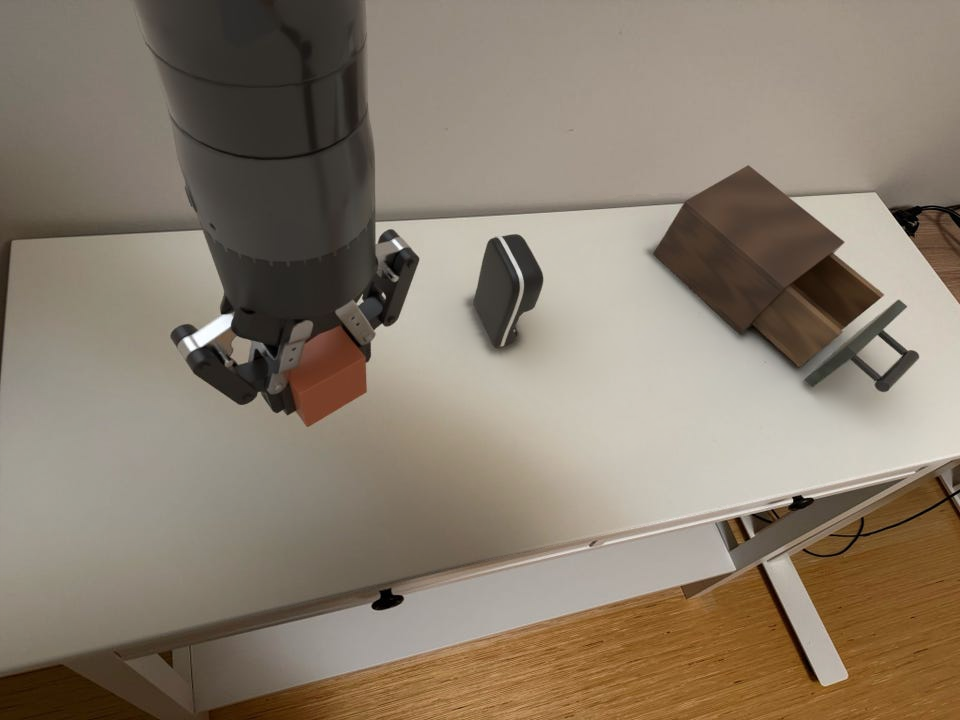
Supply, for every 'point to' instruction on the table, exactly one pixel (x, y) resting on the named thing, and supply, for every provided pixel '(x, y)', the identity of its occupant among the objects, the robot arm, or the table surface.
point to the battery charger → (506, 286)
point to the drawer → (832, 321)
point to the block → (327, 375)
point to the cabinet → (743, 245)
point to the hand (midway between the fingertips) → (320, 382)
